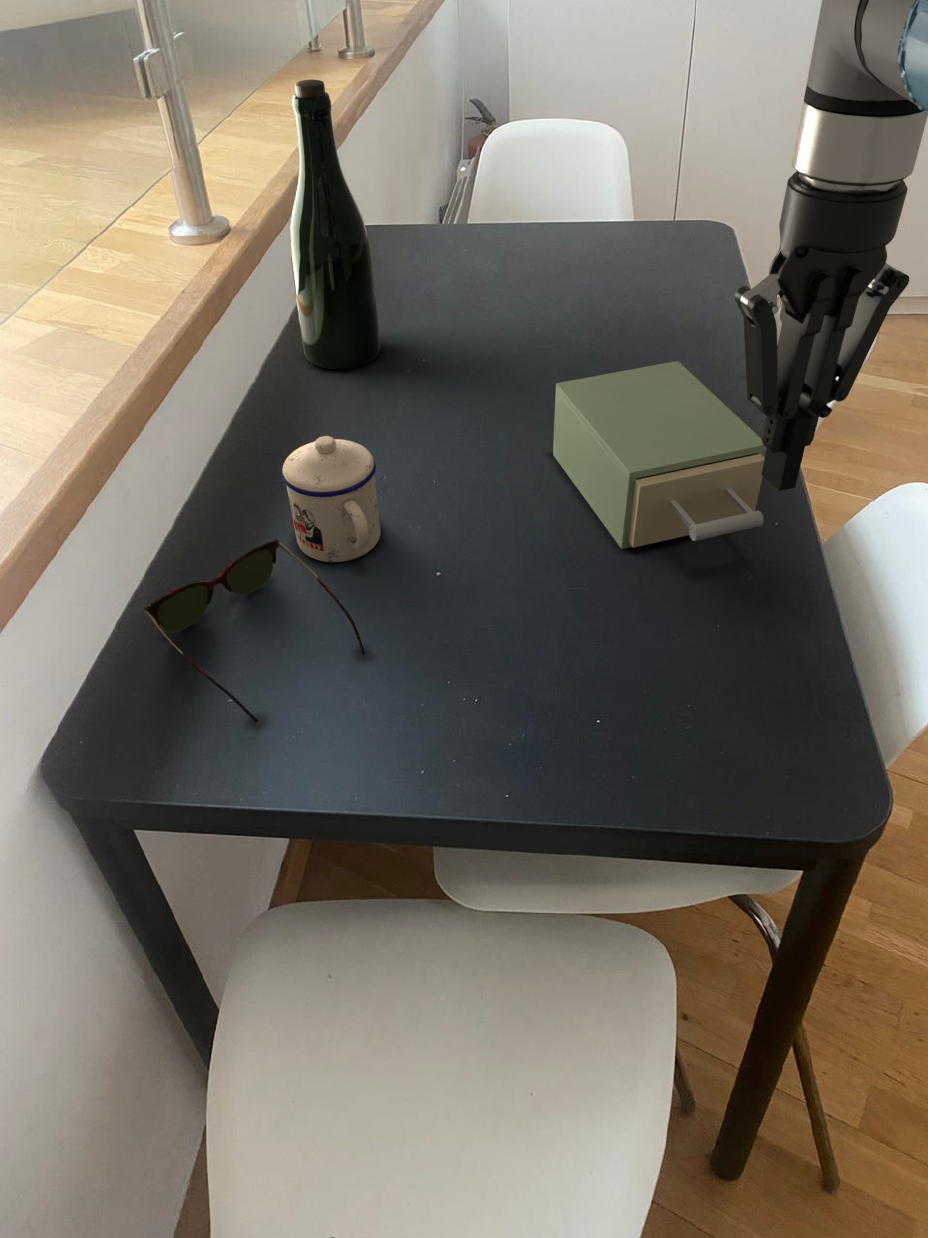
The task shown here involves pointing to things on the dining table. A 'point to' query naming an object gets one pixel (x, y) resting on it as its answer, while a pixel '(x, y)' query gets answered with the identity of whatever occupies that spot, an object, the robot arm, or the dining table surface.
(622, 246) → the dining table surface
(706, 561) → the dining table surface
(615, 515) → the green drawer box
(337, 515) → the teacup with lid
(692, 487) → the pull-out drawer
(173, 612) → the sunglasses
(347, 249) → the green wine bottle
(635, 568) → the dining table surface
